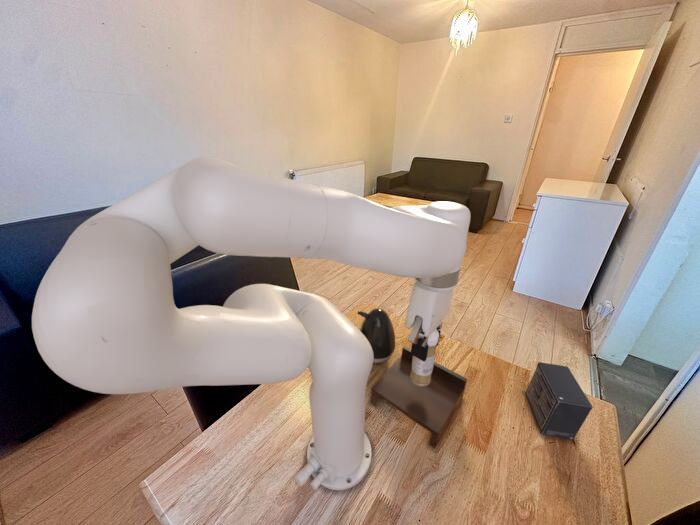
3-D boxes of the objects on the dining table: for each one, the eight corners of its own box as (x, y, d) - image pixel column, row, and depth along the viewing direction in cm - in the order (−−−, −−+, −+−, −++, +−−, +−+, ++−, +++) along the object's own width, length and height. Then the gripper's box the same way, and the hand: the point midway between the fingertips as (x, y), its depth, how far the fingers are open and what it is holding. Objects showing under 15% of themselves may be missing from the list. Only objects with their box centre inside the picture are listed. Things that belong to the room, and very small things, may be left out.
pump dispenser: (360, 339, 85) (361, 297, 78) (395, 344, 83) (399, 301, 76) (353, 365, 76) (354, 320, 69) (392, 371, 74) (397, 325, 67)
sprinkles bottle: (427, 370, 65) (435, 323, 59) (433, 387, 61) (442, 339, 55) (407, 371, 65) (413, 324, 58) (412, 388, 60) (419, 339, 54)
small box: (576, 442, 58) (596, 408, 53) (541, 435, 59) (557, 402, 54) (553, 397, 67) (569, 365, 62) (523, 392, 68) (536, 360, 64)
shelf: (435, 449, 57) (440, 425, 53) (370, 402, 66) (371, 380, 63) (461, 401, 66) (467, 378, 63) (402, 367, 75) (404, 345, 72)
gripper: (437, 252, 58) (426, 322, 67) (393, 284, 47) (386, 365, 55) (474, 262, 54) (458, 336, 62) (435, 301, 43) (421, 385, 51)
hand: (424, 349), depth 59 cm, fingers closed on sprinkles bottle, 4 cm apart
